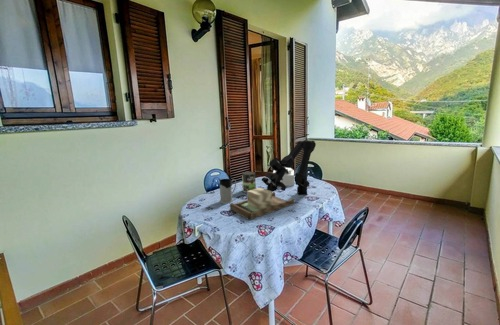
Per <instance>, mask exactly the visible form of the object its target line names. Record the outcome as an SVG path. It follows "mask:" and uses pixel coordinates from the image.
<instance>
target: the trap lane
mask: <svg viewBox="0 0 500 325" xmlns="http://www.w3.org/2000/svg"><path fill="white" fill-rule="evenodd" d="M294 204H295V199H294V198H291V199H288V200H286V199H282V198H280V197H277V196H276V192H275V191H273V192H272V205H270V206H267V207H264V208H261V209H257V208H254V207H252V206H250V205H248V199H246V200H243V201H239V202H237V203H233V202H231V203H229V207H230V208H229V209H230V211H232V212H234V213H236V214H237V215H240V216H242V217H244V218H245V219H247V220H249V221H250V220H252V219H255V218H258V217H261V216H264V215H268V214H270V213H272V212H276V211H278V210H280V209H283V208H287V207H290V206H292V205H294Z"/></svg>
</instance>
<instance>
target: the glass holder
mask: <svg viewBox="0 0 500 325" xmlns="http://www.w3.org/2000/svg"><path fill="white" fill-rule="evenodd" d="M233 182H234V183H235V184H234V189H233V190H232V185H233ZM236 186H237V180H236V179H232V180H231V178H221V179H219V192H220V195H219V196H220V197H219V198H220V200H219V201H220V202H219V203H221V204H231V203H233V193H234V192H235V190H236Z"/></svg>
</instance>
